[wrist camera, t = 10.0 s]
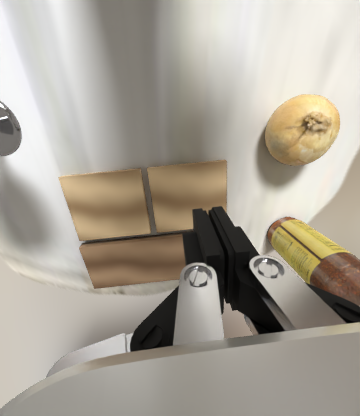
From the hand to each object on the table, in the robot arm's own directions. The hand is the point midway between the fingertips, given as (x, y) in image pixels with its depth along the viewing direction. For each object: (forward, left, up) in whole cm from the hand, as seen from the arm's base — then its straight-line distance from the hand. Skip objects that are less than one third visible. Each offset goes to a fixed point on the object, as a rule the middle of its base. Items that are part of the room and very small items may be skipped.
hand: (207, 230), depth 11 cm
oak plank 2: (+5, 0, -17) cm, 18 cm away
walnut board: (+15, -6, -17) cm, 24 cm away
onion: (-3, +14, -18) cm, 23 cm away
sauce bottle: (+13, +16, -18) cm, 27 cm away
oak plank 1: (+5, -12, -17) cm, 21 cm away
